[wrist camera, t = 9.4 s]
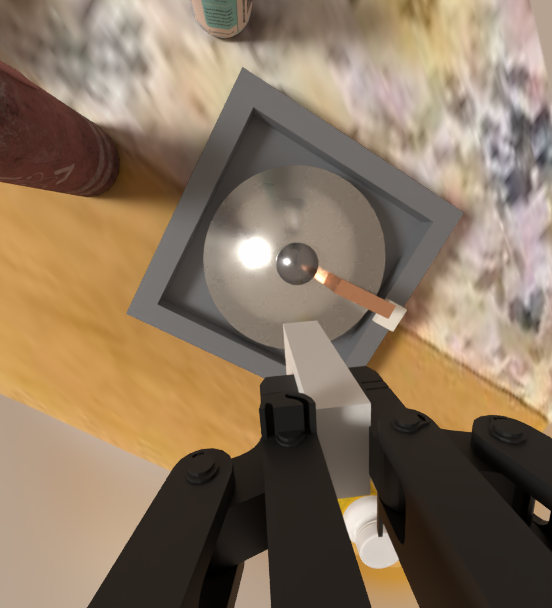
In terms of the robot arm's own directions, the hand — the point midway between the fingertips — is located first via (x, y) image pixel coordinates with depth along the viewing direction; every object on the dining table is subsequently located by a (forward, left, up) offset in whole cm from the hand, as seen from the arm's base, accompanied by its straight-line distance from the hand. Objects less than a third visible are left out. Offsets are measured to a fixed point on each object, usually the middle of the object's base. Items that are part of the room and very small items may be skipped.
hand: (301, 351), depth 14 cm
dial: (-3, +1, -17) cm, 17 cm away
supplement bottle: (+15, +19, -18) cm, 30 cm away
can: (-2, -19, -18) cm, 27 cm away
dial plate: (-3, +1, -18) cm, 18 cm away
